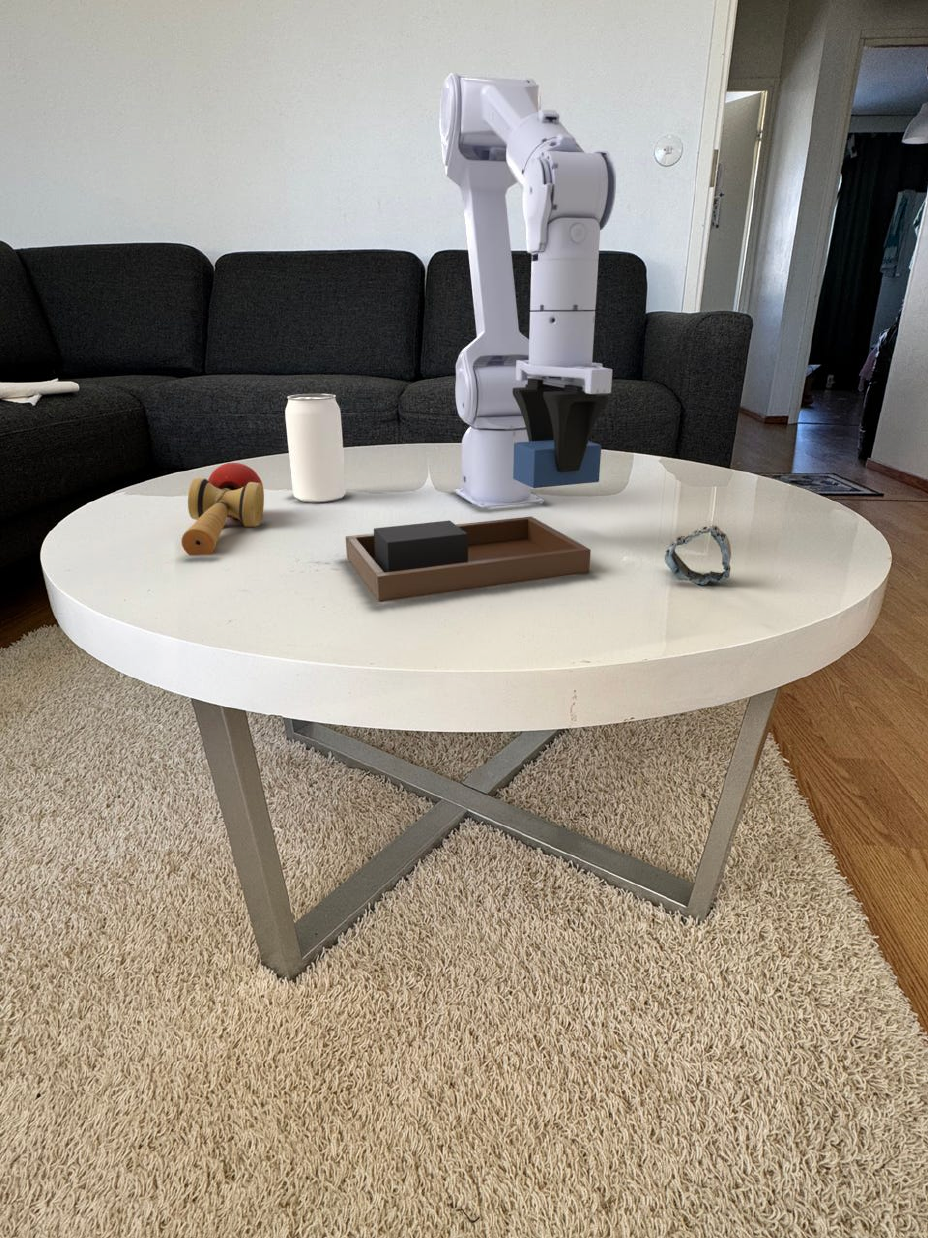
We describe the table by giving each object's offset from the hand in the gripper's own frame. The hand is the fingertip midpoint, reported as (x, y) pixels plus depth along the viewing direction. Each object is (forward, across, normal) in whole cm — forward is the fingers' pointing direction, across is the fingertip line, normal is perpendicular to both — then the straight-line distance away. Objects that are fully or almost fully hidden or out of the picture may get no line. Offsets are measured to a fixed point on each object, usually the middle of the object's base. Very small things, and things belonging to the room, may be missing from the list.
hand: (555, 466), depth 69 cm
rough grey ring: (+8, -15, -6) cm, 18 cm away
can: (+8, +27, +18) cm, 34 cm away
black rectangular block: (+7, -5, +15) cm, 17 cm away
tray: (+8, -5, +11) cm, 14 cm away
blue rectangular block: (+1, 0, 0) cm, 1 cm away
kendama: (+8, +16, +30) cm, 35 cm away
